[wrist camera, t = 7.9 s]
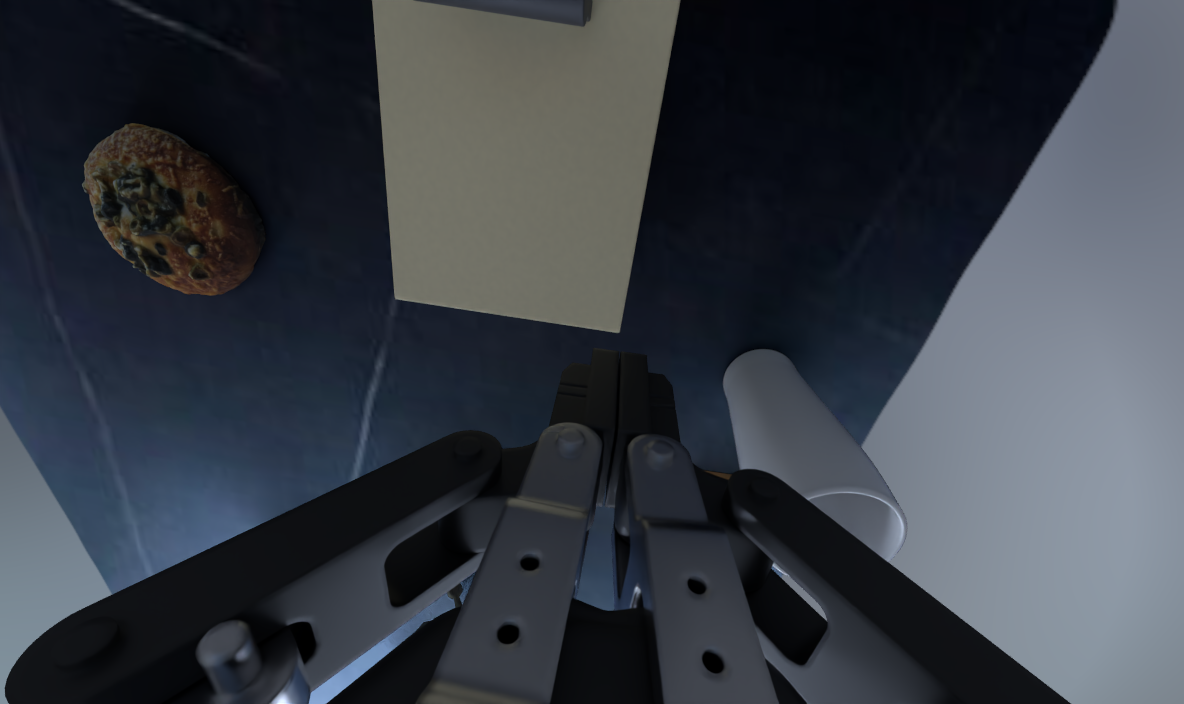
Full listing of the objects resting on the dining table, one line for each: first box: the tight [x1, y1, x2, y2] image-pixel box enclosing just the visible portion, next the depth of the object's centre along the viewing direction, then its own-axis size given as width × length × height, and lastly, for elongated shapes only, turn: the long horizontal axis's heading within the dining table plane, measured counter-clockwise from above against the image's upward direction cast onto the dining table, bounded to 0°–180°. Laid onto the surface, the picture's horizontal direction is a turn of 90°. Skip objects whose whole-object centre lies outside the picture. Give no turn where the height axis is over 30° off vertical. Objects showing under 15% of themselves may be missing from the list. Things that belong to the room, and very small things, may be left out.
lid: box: [372, 0, 680, 333], centre depth 18 cm, size 15×12×5 cm
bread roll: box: [82, 123, 266, 295], centre depth 31 cm, size 11×11×5 cm
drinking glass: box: [723, 349, 907, 577], centre depth 29 cm, size 7×7×15 cm
